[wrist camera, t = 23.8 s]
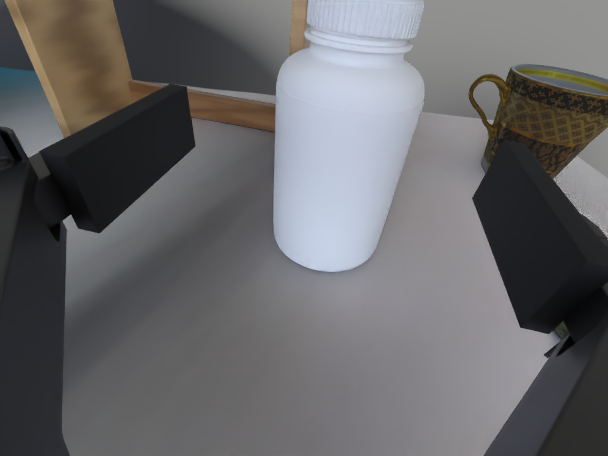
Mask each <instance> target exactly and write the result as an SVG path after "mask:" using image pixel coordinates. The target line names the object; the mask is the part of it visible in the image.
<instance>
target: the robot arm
mask: <svg viewBox="0 0 608 456" xmlns="http://www.w3.org/2000/svg"><path fill="white" fill-rule="evenodd" d="M194 147H195V140H194V133H193V127H192V120H191V113H190V106H189V100H188V93H187V87H185V86H179V85H173V84H169V85H167V86H165V87H163V88H161V89H159V90H157V91H155V92H153V93H151V94H150V95H148V96H146V97H144V98H142V99H140V100H138V101H136V102H134V103H132V104H130V105H128V106H126V107H124V108H122V109H120V110H118V111H117V112H115V113H113V114H111V115H109V116H107V117H105V118H103V119H101V120H99V121H97V122H95V123H93V124H91V125H89V126H87V127H85V128H84V129H82V130H80V131H78V132H76V133H74V134H72V135H70V136H68V137H66V138H64V139H62V140H60V141H58V142H56V143H54V144H53V145H51V146H49V147H47V148H45V149H43V150H41V151H39V153H37V154H35V155H33V156H32V157H30V158H28V157H27V155H26V153H25V151H24V150H23V148H22V146H21V144H20V142H19V140H18V138H17V137H16V135H15V133H14V131H13V130H12V129H10V128H7V127H0V456H69V452H68V450H67V447H66V445H65V442H64V439H63V434H62V396H63V356H64V316H65V276H66V236H67V230H66V227H65V225H64V223H63V221H62V220H64V219H65V218H66V217H68V216H69V215H70V214H71V215H72V217H73V219H74V221H75V223H76V225H77V227H78V229H83V230H87V231H92V232H96V233H100V232H102V231H103V230H104V229H105V228H106V227H107V226H108V225H109V224H110V223H111V222H113V221H114V220H115V219H116V218H117V217H118V216H119V215H120V214H121V213H123V212H124V211H125V210H126V209H127V208H128V207H129V206H130V205H131V204H132V203H134V202H135V201H136V200H137V199H138V198H139V197H140V196H141V195H142V194H143V193H145V192H146V191H147V190H148V189H149V188H150V187H151V186H152V185H153V184H154V183H156V182H157V181H158V180H159V179H160V178H161V177H162V176H163V175H164V174H165V173H167V172H168V171H169V170H170V169H171V168H172V167H173V166H174V165H175V164H176V163H178V162H179V161H180V160H181V159H182V158H183V157H184V156H185V155H186V154H187V153H189V152H190V151H191V150H192V149H193V148H194ZM472 199H473V202H474V205H475V207H476V210H477V213H478V215H479V218H480V221H481V223H482V226H483V229H484V231H485V234H486V237H487V239H488V242H489V245H490V247H491V250H492V253H493V256H494V258H495V261H496V264H497V266H498V269H499V272H500V274H501V277H502V280H503V282H504V285H505V288H506V290H507V293H508V296H509V298H510V301H511V304H512V306H513V309H514V312H515V314H516V317H517V320H518V322H519V325H520V328H525V329H529V330H534V331H538V332H542V333H547V334H549V333H550V332H551V331H553V330H554V329H555V328H556V327H557V326H558V325H559V324H561V323H562V322H564V324H565V326H566V328H567V330H568V332H569V335H567V336H566V337H565V338H564V339H563V340H561V341H560V342H559V343H558V344H556V345H555V346H554V347H553V348H551V349H550V350H549V351H548V352H547V353H545V354H544V356H546V357H547V358H549V359H548V360H547V362H546V363H545V365H544V366H543V368H542V369H541V371H540V372H539V374H538V375H537V377H536V378H535V380H534V381H533V383H532V384H531V386H530V387H529V389H528V390H527V392H526V393H525V395H524V396H523V398H522V399H521V401H520V402H519V404H518V405H517V406H516V408H515V409H514V411H513V412H512V414H511V415H510V417H509V418H508V420H507V421H506V423H505V424H504V426H503V427H502V429H501V430H500V432H499V433H498V435H497V436H496V438H495V439H494V441H493V442H492V444H491V445H490V447H489V448H488V450H487V451H486V453H485V454H484V456H608V240H607V239H608V238H607V237H606V236H605V234H604V233H603V232H602V231H601V230H600V228H599V227H598V226H597V225H595V224H594V223H593V222H591V221H590V220H589V219H587V218H586V217H585V216H583V215H581V214H580V213H579V212H578V210H577V209H576V208H575V207H574V205H573V204H572V203H571V202H570V200H569V199H568V198H567V197H566V195H565V194H564V193H563V192H562V190H561V189H560V188H559V187H558V185H557V184H556V183H555V182H554V180H553V179H552V178H551V177H550V175H549V174H548V173H547V172H546V170H545V169H544V168H543V166H542V165H541V164H540V163H539V161H538V160H537V159H536V158H535V156H534V155H533V154H532V153H531V151H530V150H529V149H528V148H527V146H526V145H525V144H522V143H516V142H510V141H503V143H502V145H501V147H500V149H499V150H498V152H497V154H496V156H495V158H494V159H493V161H492V163H491V165H490V167H489V169H488V170H487V172H486V174H485V176H484V178H483V180H482V181H481V183H480V185H479V187H478V189H477V190H476V192H475V194H474V196H473V198H472Z"/></svg>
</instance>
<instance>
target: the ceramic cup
mask: <svg viewBox="0 0 608 456" xmlns="http://www.w3.org/2000/svg"><path fill="white" fill-rule="evenodd" d="M484 81H491V82H494V83H495V84H496V85H497V87H498V89H499V96H500V103H499V106H498V109H497V112H496V117H495V119H494V123H493V125H491V124H489V123H488V121H487V119H486V116H485V114H484V112H483V111H482V109H481V108H480V107H479V105H478V104H477V103H476V102H475V100H474V98H473V91H474V89H475V87H476V86H477V85H478V84H479V83H481V82H484ZM469 100H470V102H471V104H472V106H473V107H474V108H475V109H476V111H477V112H478V113H479V115H480V116H481V119H482V122H483V124H484V125H485V127H486V128H487V130H488V135H489V139H488V143H487V146H486V149H485V152H484V155H483V158H482V161H481V165H482V167H483V169H484V171H485V173H486V172H487V170H488V169H489V167H490V165H491V163H492V161H493V159H494V158H495V156H496V154H497V152H498V150H499V149H500V147H501V145H502V143H503V141H510V142H516V143H522V144H525V145H526V146H527V148H528V149H529V150H530V151H531V153H532V154H533V155H534V156H535V158H536V159H537V160H538V161H539V163H540V164H541V165H542V166H543V168H544V169H545V170H546V172H547V173H548V174H549V175H550V177H551V178H552V179H553V178H554V177H556V176H557V175H558V174H559V173H560V172H561V170H562V169H563V168H564V167H565V166H567V165H568V164H569V163H570V162H571V161H572V160H573V159H574V158H575V157H576V156H577V155H578V154H579V153H580V152H581V151H582V150H583V149H584V148H585V147H586V146H587V145H588V144H589V143H590V142H591V141H592V140H593V139H594V138H595V137H597V136H598V135H599V134H600V133H602V132H603V131H604V130H605V129H606V128H607V127H608V79H605V78H602V77H598V76H595V75H590V74H586V73H582V72H578V71H573V70H568V69H563V68H558V67H550V66H544V65H533V64H518V65H514V66H512V67H511V68H510V71H509V73H508V76H507V79H506V82H505V81H504V80H503V79H502V78H500V77H499V76H497V75H493V74H489V75H483V76H481V77H479V78H478V79H477V80H476V81H475V82H474V83H473V84H472V85H471V87H470V90H469Z"/></svg>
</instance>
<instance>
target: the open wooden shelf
mask: <svg viewBox="0 0 608 456" xmlns="http://www.w3.org/2000/svg"><path fill="white" fill-rule="evenodd" d="M5 2H6V4H7V7H8V9H9V12H10V14H11V16H12V18H13V21H14V23H15V25H16V27H17V30H18V32H19V34H20V37H21V39H22V41H23V44H24V46H25V48H26V50H27V53H28V55H29V57H30V59H31V62H32V64H33V66H34V69H35V71H36V73H37V76H38V78H39V80H40V83H41V85H42V87H43V89H44V92H45V94H46V96H47V99H48V101H49V103H50V105H51V108H52V110H53V112H54V115H55V117H56V119H57V121H58V124H59V126H60V128H61V131H62V133H63V135H64V137H68V136H70V135H72V134H74V133H76V132H78V131H80V130H82V129H84V128H85V127H87V126H89V125H91V124H93V123H95V122H97V121H99V120H101V119H103V118H105V117H107V116H109V115H111V114H113V113H115V112H117V111H118V110H120V109H122V108H124V107H126V106H128V105H130V104H132V103H134V102H136V101H138V100H140V99H142V98H144V97H146V96H148V95H150V94H151V93H153V92H155V91H157V90H159V89H161V88H163V87H165V86H167V85H161V84H155V83H149V82H143V81H137V80H132V76H131V72H130V68H129V64H128V60H127V57H126V53H125V48H124V45H123V40H122V36H121V32H120V28H119V24H118V21H117V17H116V13H115V9H114V5H113V1H112V0H5ZM307 8H308V0H293V1H292V19H291V37H290V56H291V55H292V54H294V53H296V52H298V51H300V50H303V49H306V48H309V45H310V41H309V40H307V39H306V38H305V36H304V33H305V30H306V29H308V28H311V27H310V25H309V24H308V23H307ZM290 56H289V57H290ZM187 93H188V100H189V106H190V113H191V117H195V118H200V119H206V120H211V121H217V122H222V123H228V124H233V125H239V126H244V127H250V128H256V129H261V130H267V131H272V132H275V116H276V104H272V103H266V102H260V101H254V100H249V99H243V98H237V97H231V96H225V95H219V94H214V93H208V92H202V91H196V90H190V89H187Z"/></svg>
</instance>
